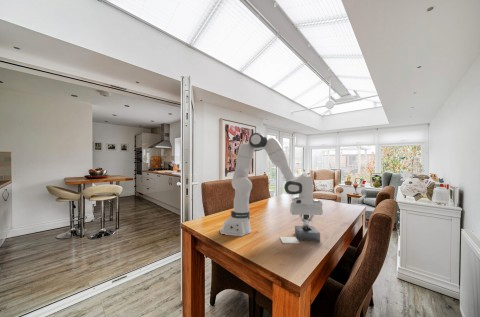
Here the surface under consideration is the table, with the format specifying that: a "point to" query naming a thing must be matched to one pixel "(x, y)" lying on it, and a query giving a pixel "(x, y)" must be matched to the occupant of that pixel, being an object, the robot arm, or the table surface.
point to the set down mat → (289, 240)
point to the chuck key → (306, 222)
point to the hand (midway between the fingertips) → (306, 221)
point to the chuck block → (307, 233)
